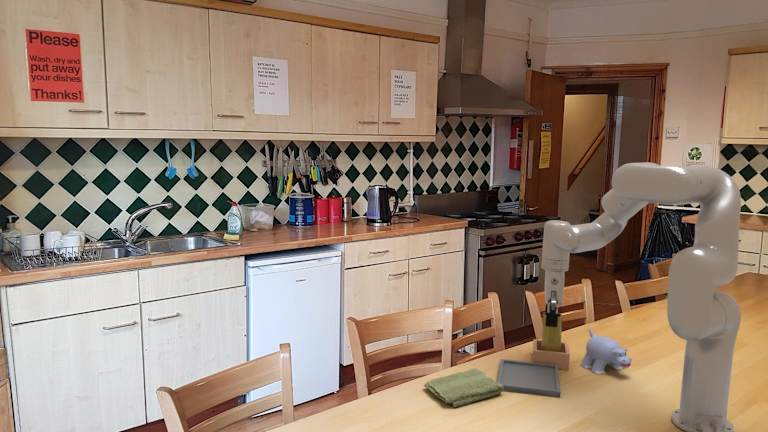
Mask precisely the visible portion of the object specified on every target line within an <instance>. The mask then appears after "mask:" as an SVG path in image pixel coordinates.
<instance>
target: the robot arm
mask: <svg viewBox="0 0 768 432" xmlns="http://www.w3.org/2000/svg"><path fill="white" fill-rule="evenodd" d="M600 204H601V207H602V209H603V211H604V212H603V213H602V214H601V215H599V216H598V217H597V218H595V220H593V221H592V222H590V223H589V222H588V223H582V224H581V223H580V224H571V223H570V222H569V221H566V220H558V219H557V220H555V219H551V220H548V221H546V222H545V223H544V226H543V239H542V251H541V252H542V253H541V269H543V271H545V272H544V301H545V311H544V313H545V312H546V326H548V327H557V324H558V313H559V312H558V311H559V305H560V307H561V306H562V307H563V305H564V295H565V294H564V293H565V279H566V277H565V272H568V271H569V267H570V265H569V264H570V256H571V255H570V254H577V253H583V252H588V251H589V252H590V251H596V250H598V249H601V248H604V247H605V246H607V244H610V242H612V241H613V240H614V239H616V238H617V237H618V236H619V235H621V234H622V232H623V231H624V229H625V227H626V226H627V224H628V221H629V220H630V219H631V218H632V217H634V216H635V215H637V213H638V212H639V211H641V210H642V209H643V208H645V207H646V206H647V205H648V204H659V205H667V206H668V205H669V206H682V205H691V204H698V205H700V208H699V211H698V214H697V217H696V220H695V225H694V241H693V246H690V247H686V248H684V249H682V250H680V251H678V252H677V253H675V255H674V257H673V258H672V260H671V262H670V266H669V268H668V279H667V280H668V282H667V283H668V284H667V285H668V286H667V304H666V306H667V307H666V314H667V315H666V316H667V321H668V324H669V327H670V329H671V331H672V332H673V333H674V334H675V335H676V336H677V337H679V338H680V339H681V340H684V341H686V342H685V347H684V356H683V367H682V378H681V379H682V380H681V387H680V389H681V391H680V401H679V408H677V409H674V410H673V411H672V412H671V417H670V419H671V421H672V423H673V424H674V425H675V426H676V427H678V428H679V429H680V430H683V431H684V432H734V425H733V423H732V422H731V421H730V420H729V419H728V417H727V415H728V408H729V407H728V406H729V396H730V388H731V387H730V386H731V377H732V368H733V367H732V366H733V360H734V353H735V352H734V351H735V345H736V341H737V336H738V333H739V329H740V326H741V321H742V311H741V307H740V305H739V303H738V302H737V300H736V298H734V297H733V296H732V295H730V294H729V293H727V292H725V291H721V290H714V289H715V288H718V287H722V286H724V285H727V284H729V283H730V282H732V281H733V280H734V279H735V277H736V276H737V275H738V274H737V273H738V263H739V262H738V261H739V242H740V219H741V211H742V210H741V209H742V208H741V207H742V197H741V191H740V189H739V187H738V183H736V181H735V180H734V178H733V177H732V176H731V175H729V174H728V173H727V172H725V171H723V170H722V169H719V168H717V167H714V166H709V165H679V166H678V165H677V166H668V165H667V166H666V165H665V166H664V165H660V164H658V163H656V162H647V161H646V162H629V163H625V164H623V165H621V166H619V167H618V168H617V169H616V170H615V171H614V173H613V175H612V177H611V189H610V190H609V191H607V192H606V193H605V194H604V195H603V197H602V198H601V203H600Z"/></svg>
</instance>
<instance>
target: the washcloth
mask: <svg viewBox="0 0 768 432" xmlns="http://www.w3.org/2000/svg"><path fill="white" fill-rule="evenodd" d="M423 386H424V387H425V388H426V390H427V391H430V393H432V394H433V395H434V396H435V397H437V398H439V399H440V400H442V401H443V402H444V403H445V404H450V406H452V407H453V408H458V407H460V406H461V407H462V406H463V405H469V404H470V403H473V402H477V401H480V400H485V399H488V398H491V397H494V396H498V395H500V394H502V393H503V392H504V391H503V390H504V386H503V385H502V384H500V383H498V382H497V380H495V379H493V378H492V377H491V378H490V377H489V376H487V375H486V373H484V372H483V371H482V370H481V369H479V368H477V367H476V368H475V367H473V368H470V369H468V370H465V371H459V372H456V373H452V374H449V375H445V376H441V377H436V378H432V379H430V380H428V381H427V382H425V383H424V385H423Z"/></svg>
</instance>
